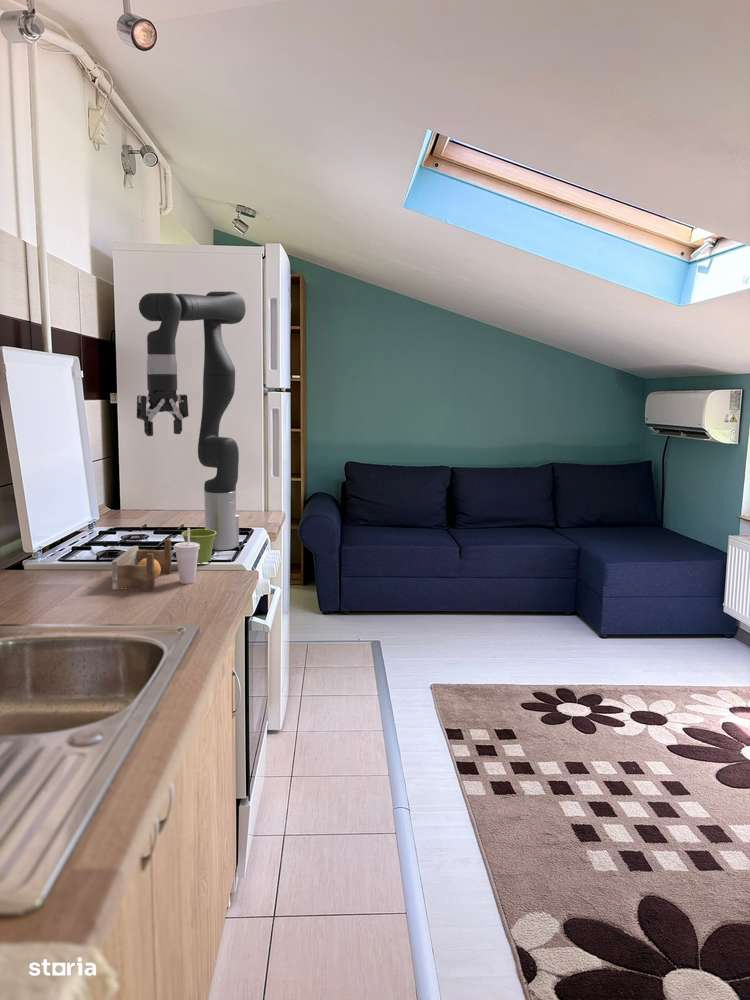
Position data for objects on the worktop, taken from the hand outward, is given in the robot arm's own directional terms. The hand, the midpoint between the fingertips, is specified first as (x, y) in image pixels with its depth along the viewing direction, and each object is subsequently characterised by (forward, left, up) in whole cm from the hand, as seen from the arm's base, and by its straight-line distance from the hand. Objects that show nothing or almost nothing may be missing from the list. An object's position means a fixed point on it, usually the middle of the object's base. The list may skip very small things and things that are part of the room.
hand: (163, 434), depth 213 cm
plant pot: (-10, +1, -36) cm, 38 cm away
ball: (+10, +7, -33) cm, 35 cm away
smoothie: (+4, +15, -36) cm, 39 cm away
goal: (+11, +6, -36) cm, 38 cm away
